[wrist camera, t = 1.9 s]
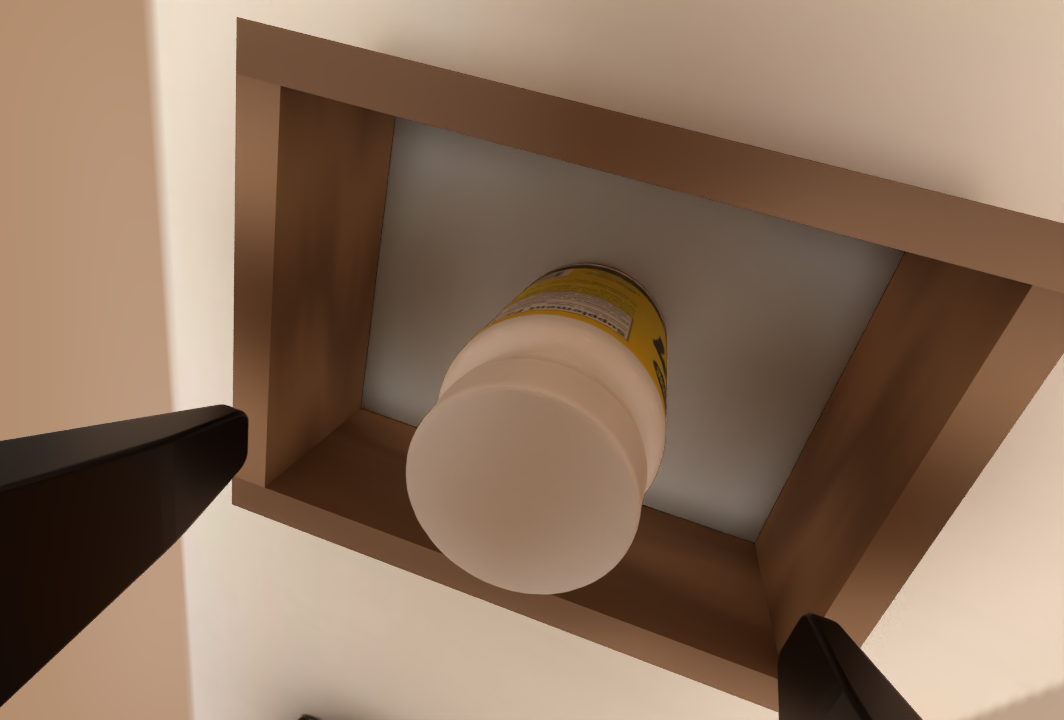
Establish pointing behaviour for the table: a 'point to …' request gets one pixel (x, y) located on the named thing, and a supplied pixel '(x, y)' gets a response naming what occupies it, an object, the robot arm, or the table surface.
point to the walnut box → (661, 539)
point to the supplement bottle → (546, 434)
